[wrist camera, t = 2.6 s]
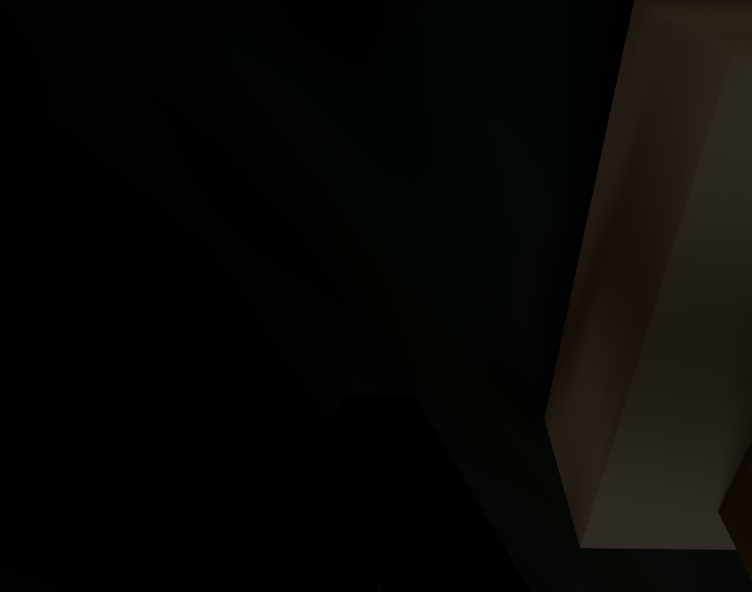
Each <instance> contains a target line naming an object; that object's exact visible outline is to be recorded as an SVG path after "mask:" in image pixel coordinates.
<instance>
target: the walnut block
mask: <svg viewBox="0 0 752 592" xmlns="http://www.w3.org/2000/svg"><path fill="white" fill-rule="evenodd" d="M718 513H719V515H720V517H721V519H722V521H723V523H724V525H725V527H726V529H727V531H728V533H729V535H730V537H731V539H732V541H733V543H734V545H735V547H736V549H737V551H738V553H739V555H740V557H741V559H742V561H743V563H744V565H745V567H746V569H747V571H748V574H749V576H750V578H751V580H752V442H751V444H750V446H749V448H748V450H747V452H746V454H745V456H744V458H743V461H742V463H741V465H740V467H739V469H738V471H737V473H736V475H735V477H734V479H733V481H732V483H731V485H730V487H729V490H728V492H727V494H726V496H725V498H724V500H723V502H722V504H721V506H720V508H719V510H718Z"/></svg>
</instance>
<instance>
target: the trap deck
mask: <svg viewBox="0 0 752 592" xmlns="http://www.w3.org/2000/svg"><path fill="white" fill-rule="evenodd" d="M545 422H546V426H547V429H548V433H549V436H550V440H551V444H552V447H553V451H554V454H555V458H556V462H557V465H558V469H559V472H560V476H561V480H562V483H563V487H564V490H565V494H566V498H567V501H568V505H569V508H570V512H571V516H572V519H573V523H574V526H575V530H576V534H577V537H578V541H579V545H580V548H635V549H724V550H737V549H736V547H735V545H734V543H733V541H732V539H731V537H730V535H729V533H728V531H727V529H726V527H725V525H724V523H723V521H722V519H721V517H720V515H719V513H718V510H719V508H720V506H721V504H722V502H723V500H724V498H725V496H726V494H727V492H728V490H729V487H730V485H731V483H732V481H733V479H734V477H735V475H736V473H737V471H738V469H739V467H740V465H741V463H742V461H743V458H744V456H745V454H746V452H747V450H748V448H749V446H750V444H751V442H752V0H634V4H633V9H632V13H631V18H630V23H629V27H628V32H627V37H626V41H625V46H624V51H623V55H622V60H621V65H620V69H619V74H618V78H617V83H616V88H615V92H614V97H613V102H612V106H611V111H610V116H609V120H608V125H607V130H606V134H605V139H604V144H603V148H602V153H601V158H600V162H599V167H598V172H597V176H596V181H595V185H594V190H593V195H592V199H591V204H590V209H589V213H588V218H587V223H586V227H585V232H584V237H583V241H582V246H581V251H580V255H579V260H578V265H577V269H576V274H575V279H574V283H573V288H572V292H571V297H570V302H569V306H568V311H567V316H566V320H565V325H564V330H563V334H562V339H561V344H560V348H559V353H558V358H557V362H556V367H555V372H554V376H553V381H552V386H551V390H550V395H549V399H548V404H547V409H546V413H545Z"/></svg>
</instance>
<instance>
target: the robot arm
mask: <svg viewBox="0 0 752 592" xmlns="http://www.w3.org/2000/svg"><path fill="white" fill-rule="evenodd" d="M378 561H379V583H380V592H533V590H532V588H531V587H530V585H529V583H528V582H527V580H526V578H525V577H524V575H523V573H522V572H521V570H520V568H519V567H518V565H517V564H516V562H515V560H514V559H513V557H512V555H511V554H510V552H509V550H508V549H507V547H506V545H505V544H504V542H503V541H502V539H501V537H500V536H499V534H498V532H497V531H496V529H495V527H494V526H493V524H492V522H491V521H490V519H489V517H488V516H487V514H486V513H485V511H484V509H483V508H482V506H481V504H480V503H479V501H478V499H477V498H476V496H475V494H474V493H473V491H472V489H471V488H470V486H469V485H468V483H467V481H466V480H465V478H464V476H463V475H462V473H461V471H460V470H459V468H458V466H457V465H456V463H455V461H454V460H453V458H452V457H451V455H450V453H449V452H448V450H447V448H446V447H445V445H444V443H443V442H442V440H441V438H440V437H439V435H438V433H437V432H436V430H435V429H434V427H433V425H432V424H431V422H430V420H429V419H428V417H427V415H426V414H425V412H424V410H423V409H422V407H421V406H420V404H419V402H418V401H417V400H416V399H415V398H413V397H406V396H386V397H383V398H382V400H381V402H380V400H379V399H378V398H377V397H375V396H348V397H346V398H345V399H344V400H343V401H342V402H341V404H340V405H339V407H338V409H337V410H336V412H335V413H334V415H333V417H332V418H331V420H330V422H329V423H328V425H327V426H326V428H325V430H324V431H323V433H322V434H321V436H320V438H319V439H318V441H317V442H316V444H315V446H314V447H313V449H312V451H311V452H310V454H309V455H308V457H307V459H306V460H305V462H304V463H303V465H302V467H301V468H300V470H299V471H298V473H297V475H296V476H295V478H294V479H293V481H292V483H291V484H290V486H289V488H288V489H287V491H286V492H285V494H284V496H283V497H282V499H281V500H280V502H279V504H278V505H277V507H276V508H275V510H274V512H273V513H272V515H271V517H270V518H269V520H268V521H267V523H266V525H265V526H264V528H263V529H262V531H261V533H260V534H259V536H258V537H257V539H256V541H255V542H254V544H253V546H252V547H251V549H250V550H249V552H248V554H247V555H246V557H245V558H244V560H243V562H242V563H241V565H240V566H239V568H238V570H237V571H236V573H235V575H234V576H233V578H232V579H231V581H230V583H229V584H228V586H227V587H226V589H225V591H224V592H377V585H378Z"/></svg>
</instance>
